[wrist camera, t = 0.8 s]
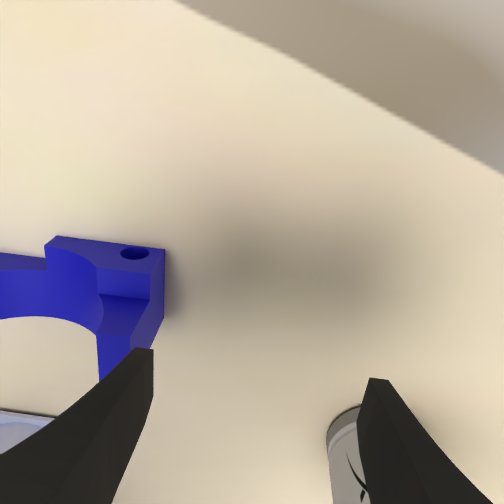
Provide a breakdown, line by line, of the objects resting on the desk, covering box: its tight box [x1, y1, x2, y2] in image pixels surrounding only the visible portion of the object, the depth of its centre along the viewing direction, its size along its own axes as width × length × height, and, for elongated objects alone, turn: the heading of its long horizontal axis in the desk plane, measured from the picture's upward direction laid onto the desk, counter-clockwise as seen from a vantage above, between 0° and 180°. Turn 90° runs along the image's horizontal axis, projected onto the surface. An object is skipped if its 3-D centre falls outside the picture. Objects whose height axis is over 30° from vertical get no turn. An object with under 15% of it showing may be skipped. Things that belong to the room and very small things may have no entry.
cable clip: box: [0, 236, 165, 382], centre depth 21 cm, size 12×4×6 cm, turn 84°
